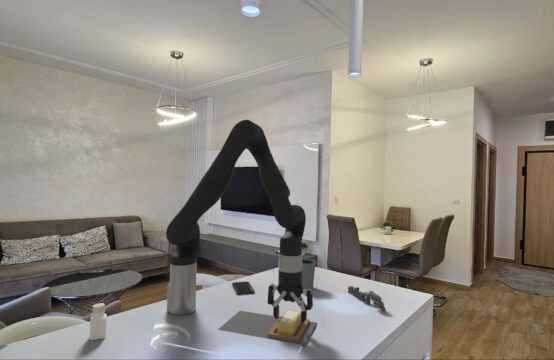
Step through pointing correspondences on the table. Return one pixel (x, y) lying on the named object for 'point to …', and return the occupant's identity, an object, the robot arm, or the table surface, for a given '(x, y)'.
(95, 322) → the pepper shaker
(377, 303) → the block letters
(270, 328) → the mat
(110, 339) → the table surface
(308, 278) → the green cup
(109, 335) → the table surface
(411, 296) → the table surface
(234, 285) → the phone
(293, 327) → the card box
